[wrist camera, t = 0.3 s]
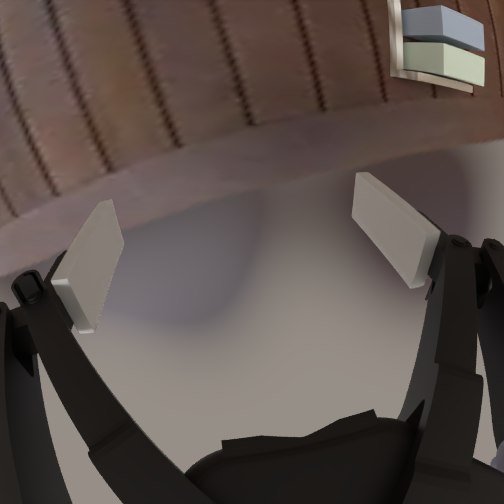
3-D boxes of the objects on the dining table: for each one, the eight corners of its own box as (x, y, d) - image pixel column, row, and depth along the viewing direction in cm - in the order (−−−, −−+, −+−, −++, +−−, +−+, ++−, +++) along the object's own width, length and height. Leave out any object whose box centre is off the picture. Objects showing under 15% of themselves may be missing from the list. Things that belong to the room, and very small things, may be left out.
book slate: (399, 10, 30) (440, 5, 22) (441, 23, 31) (482, 24, 22) (401, 35, 32) (443, 34, 24) (442, 47, 33) (484, 51, 25)
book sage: (401, 42, 33) (443, 43, 25) (442, 53, 34) (484, 58, 26) (402, 68, 36) (443, 74, 27) (442, 77, 36) (483, 86, 28)
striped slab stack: (384, -26, 26) (410, -35, 20) (440, -6, 27) (468, -9, 21) (390, 76, 36) (417, 80, 31) (444, 86, 37) (472, 93, 32)
